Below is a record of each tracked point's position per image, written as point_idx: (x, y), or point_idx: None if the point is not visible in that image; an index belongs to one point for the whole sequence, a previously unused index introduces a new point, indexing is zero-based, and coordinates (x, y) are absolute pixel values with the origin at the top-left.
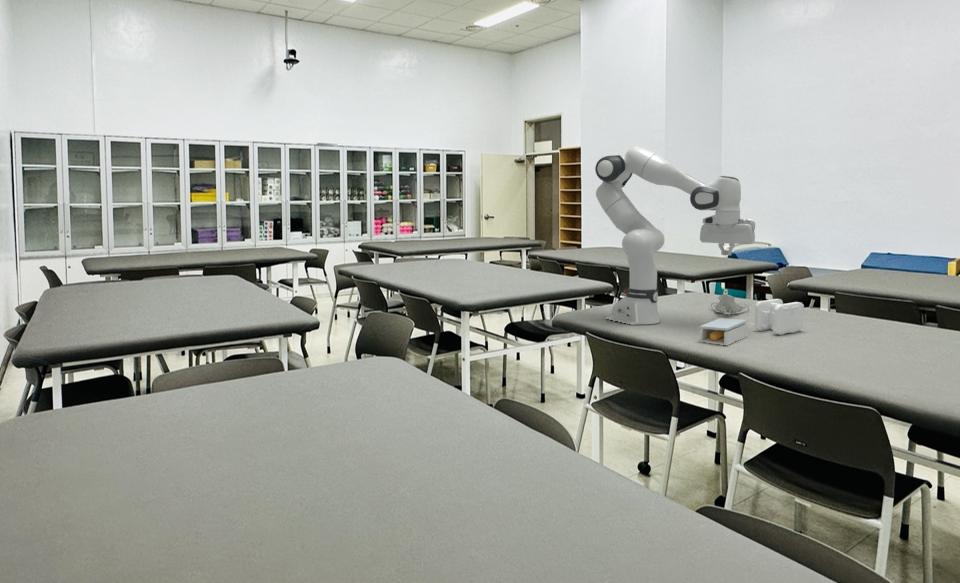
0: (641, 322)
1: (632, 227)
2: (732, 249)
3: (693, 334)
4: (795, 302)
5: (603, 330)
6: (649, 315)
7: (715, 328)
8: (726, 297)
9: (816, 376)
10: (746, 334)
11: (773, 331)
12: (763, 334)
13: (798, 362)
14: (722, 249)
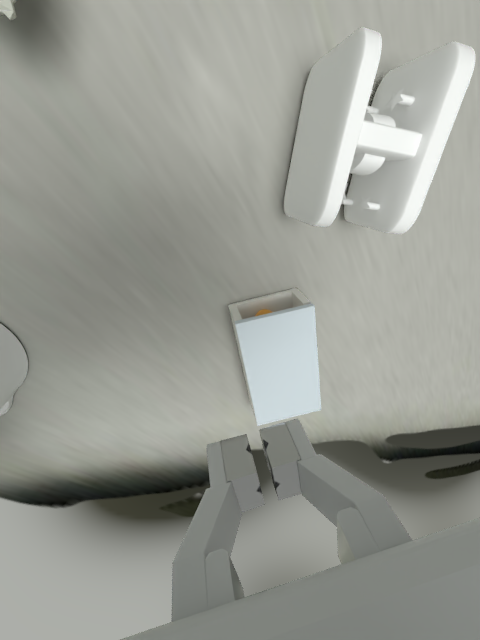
0: (13, 392)
1: None
2: (333, 466)
3: (193, 362)
4: (454, 93)
5: (34, 479)
6: (6, 386)
7: (294, 414)
8: (13, 1)
9: (464, 408)
10: (298, 291)
11: (345, 218)
12: (315, 227)
13: (435, 374)
14: (236, 524)
